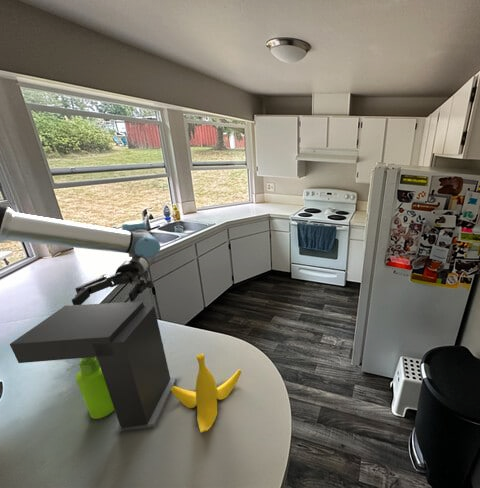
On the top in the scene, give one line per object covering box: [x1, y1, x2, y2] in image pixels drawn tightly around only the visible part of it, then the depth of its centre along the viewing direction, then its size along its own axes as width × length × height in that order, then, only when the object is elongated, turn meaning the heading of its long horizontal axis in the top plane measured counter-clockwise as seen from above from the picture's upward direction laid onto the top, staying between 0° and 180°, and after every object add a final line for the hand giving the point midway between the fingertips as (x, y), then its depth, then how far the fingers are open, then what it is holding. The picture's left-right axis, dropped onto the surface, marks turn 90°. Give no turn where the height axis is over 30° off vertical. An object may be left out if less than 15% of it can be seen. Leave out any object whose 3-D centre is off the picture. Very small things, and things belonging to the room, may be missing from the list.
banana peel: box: [171, 353, 242, 433], centre depth 65 cm, size 17×19×17 cm
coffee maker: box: [9, 301, 177, 432], centre depth 64 cm, size 22×14×28 cm, turn 99°
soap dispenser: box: [75, 357, 115, 420], centre depth 64 cm, size 6×7×20 cm
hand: (103, 300), depth 73 cm, fingers open, 13 cm apart
